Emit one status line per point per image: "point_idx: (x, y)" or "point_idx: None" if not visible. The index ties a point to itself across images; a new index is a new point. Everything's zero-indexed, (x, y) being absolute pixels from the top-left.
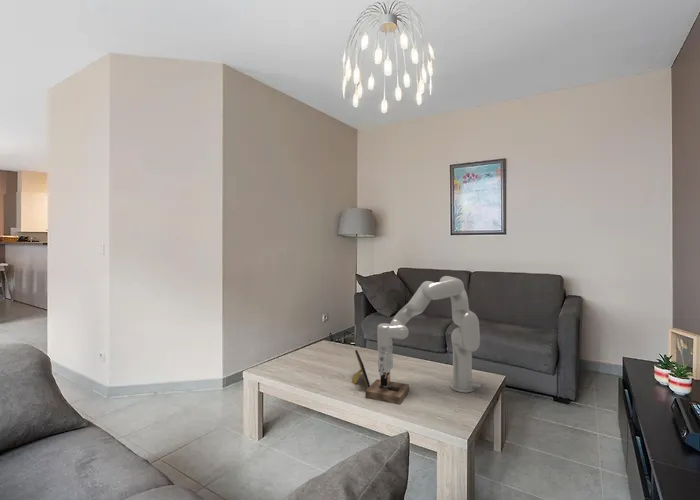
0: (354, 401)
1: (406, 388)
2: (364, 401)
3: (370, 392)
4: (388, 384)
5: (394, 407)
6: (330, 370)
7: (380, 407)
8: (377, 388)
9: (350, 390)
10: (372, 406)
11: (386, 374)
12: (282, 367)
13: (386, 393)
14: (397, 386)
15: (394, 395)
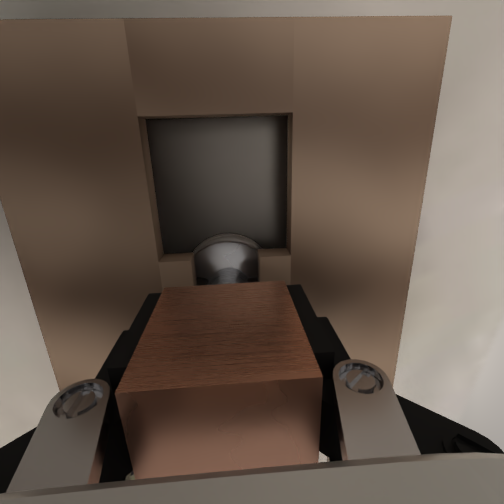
0: (436, 408)
1: (115, 20)
2: (419, 356)
3: (389, 376)
4: (137, 301)
5: (470, 85)
6: None
7: (493, 210)
8: None
9: None
10: (487, 275)
11: (246, 428)
12: None
13: (385, 229)
14: (131, 177)
15: (415, 114)
